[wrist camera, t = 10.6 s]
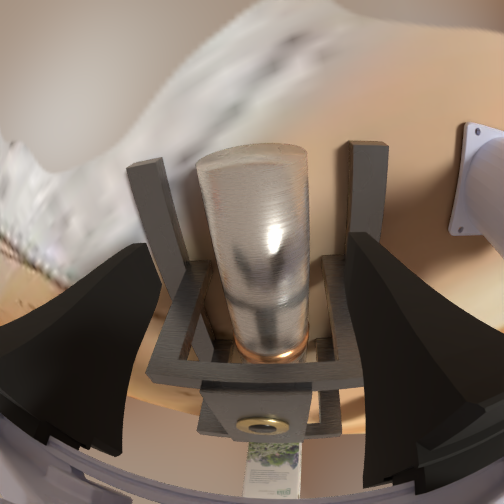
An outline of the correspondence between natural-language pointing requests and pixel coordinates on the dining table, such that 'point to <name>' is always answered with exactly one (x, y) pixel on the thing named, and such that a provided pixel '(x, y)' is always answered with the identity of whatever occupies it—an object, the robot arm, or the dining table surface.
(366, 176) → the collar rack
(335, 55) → the dining table surface
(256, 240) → the steel tube
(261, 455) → the syrup box
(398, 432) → the robot arm
